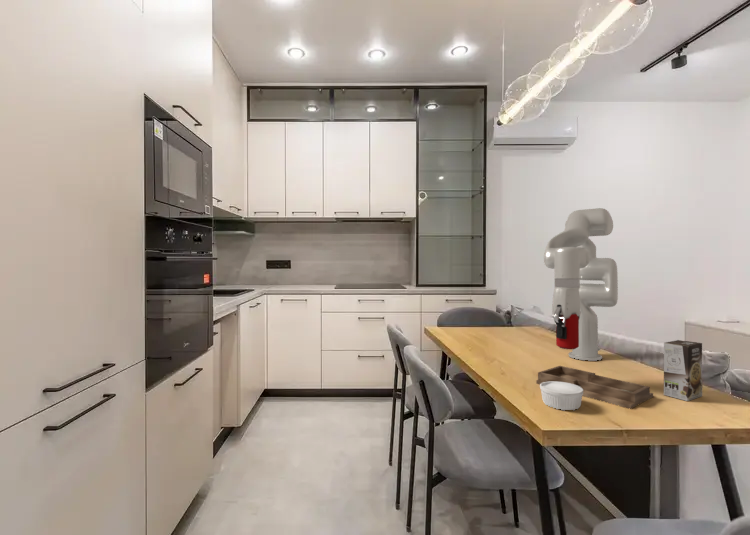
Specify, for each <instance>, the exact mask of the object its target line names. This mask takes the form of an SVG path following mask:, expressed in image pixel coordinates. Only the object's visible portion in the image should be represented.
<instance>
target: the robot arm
mask: <svg viewBox="0 0 750 535" xmlns="http://www.w3.org/2000/svg"><path fill="white" fill-rule="evenodd" d="M564 227H565V228H564V230H563V231H562V232H559V233H558V234H557V235H554V236H553V237H552V238H550V240H549V241H548V242H547V244H546V247H545V250H544V255H543V261H544V262H543V263H544V265H545V266H546V267H547V268H548V269H553V270H554V289H553V294H552V307H551V315H552V318H553V320H554V323H555V325H554V326H555V338H556V337H557V338H560V339H567V327H565V325H566V321H567V319H568V318H570V316H571V314H572V313H576V314H577V316H578V318H579V347H578V348H576V349H571V350H572V351H570V352H568V355H569V356H568V357H569V358H571V359H574V358H575V359H574V360H578V359H579V361H585V360H588V362H589V361H590V362H596V361H597V360H599V361H601V359H602V360H603V356H602V355H601V354H599V351H601V346H599V340H598V339H599V334H598V333H599V327H598V325H599V324H598V323H599V321H598V320H599V319H598V318H599V317H598V315H597V313H596V312H595V311H594V310H593V309H592V307H596V308H597V307H599V308H600V307H602V308H603V307H604V308H612V307H615V306H617V304H618V299H619V289H618V288H619V287H618V285H619V284H618V282H619V280H618V265H617V262H616V261H615V259H613V258H612V257H611V258H610V257H597V245H596V244H595V242H593V241H592V239H590V238H589V237H604V236H609V235H611V234H612V232H613V228H614V221H613V218H612V216H611V213H610V212H609V211H608V210H607V209H605V208H600V207H599V208H598V207H597V208H588V209H587V208H586V209H578V210H574V211H572V212H571V213H569V215H568V217H567V219H566V221H565V223H564ZM580 281H596V282H597V281H601V282H604V283H584V282H583V283H581V282H580ZM560 316H563V317H560ZM561 319H563V322H562V321H561ZM597 362H598V361H597Z"/></svg>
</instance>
